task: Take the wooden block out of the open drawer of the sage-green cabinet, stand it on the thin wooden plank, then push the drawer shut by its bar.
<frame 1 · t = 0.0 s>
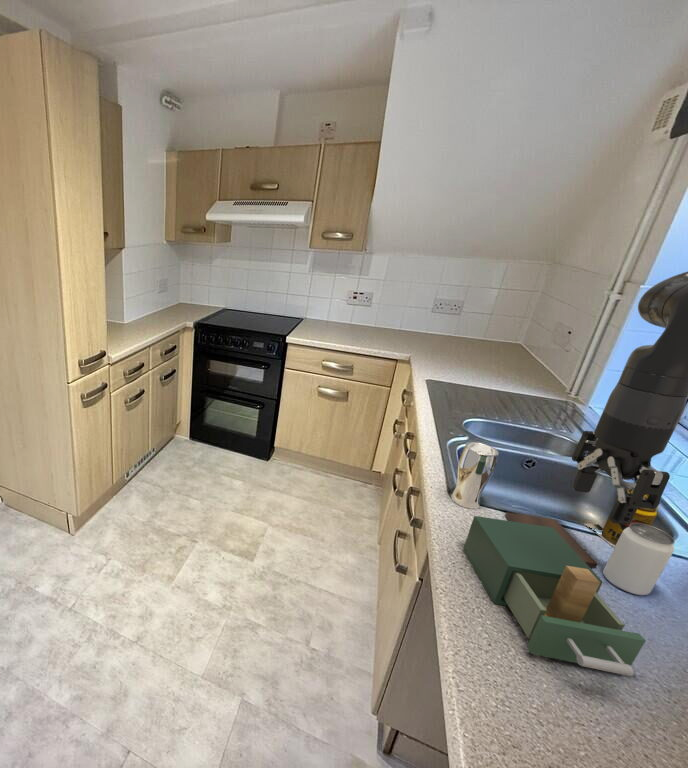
hand: (597, 505, 67), 21 cm above the counter, tool pointing down, fingers open, 8 cm apart
wooden block: (557, 626, 68), point 2 cm above the counter, touching drawer
drawer: (568, 623, 66), point 4 cm above the counter, slide at 9.0 cm, touching wooden block
can: (624, 583, 80), on the counter
thin wooden plank: (546, 540, 90), on the counter
condiment: (616, 538, 92), on the counter
beer glass: (464, 501, 103), on the counter
cabinet: (517, 581, 79), on the counter
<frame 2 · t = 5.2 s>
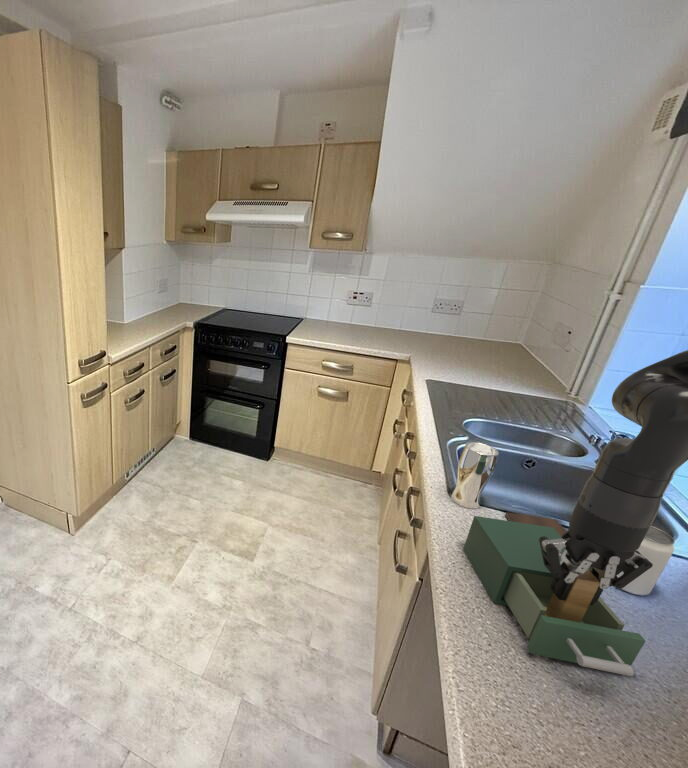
hand: (571, 597, 66), 8 cm above the counter, tool pointing down, fingers closed on wooden block, 3 cm apart
wooden block: (557, 626, 68), point 2 cm above the counter, touching drawer, gripper
everything else where it was.
when the fingers open (7 cm above the counter, at t = 10.6 s): wooden block stays where it is, resting on thin wooden plank.
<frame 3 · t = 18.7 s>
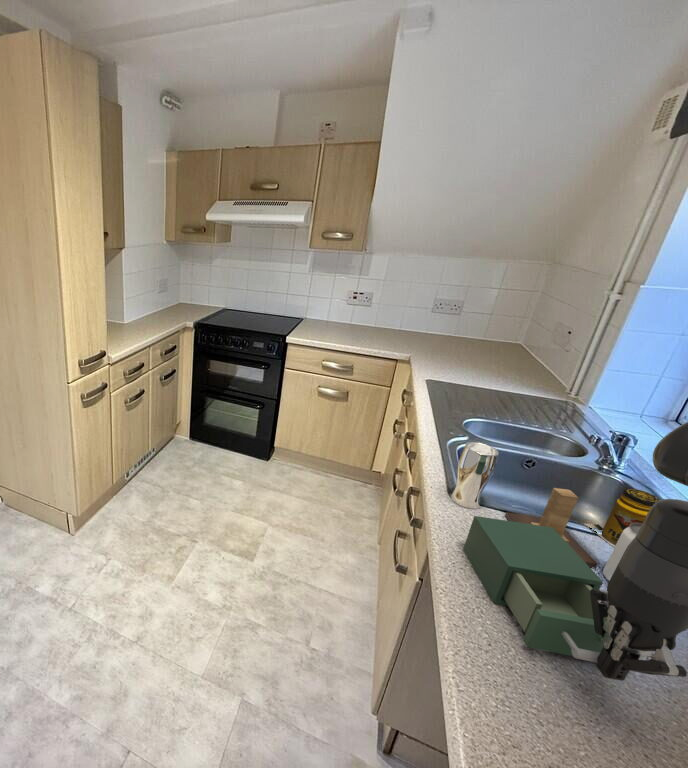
hand: (607, 673, 58), 5 cm above the counter, tool pointing down, fingers closed
wooden block: (547, 535, 90), point 1 cm above the counter, touching thin wooden plank
drawer: (563, 617, 67), point 4 cm above the counter, slide at 7.8 cm
everything else where it was.
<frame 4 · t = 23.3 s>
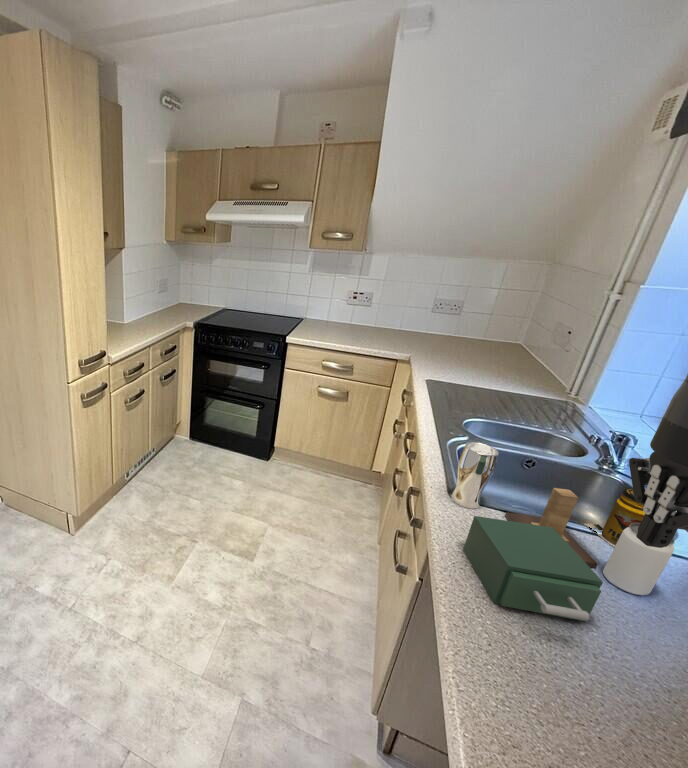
hand: (649, 542, 54), 25 cm above the counter, tool pointing down, fingers closed
drawer: (536, 579, 74), point 4 cm above the counter, slide at 0.0 cm, touching cabinet
everything else where it was.
at the end: wooden block inside the target area on the thin wooden plank (0.2 cm from its centre), point 1.2 cm above the thin wooden plank's base; wooden block tilted 0°; drawer slide at 0.0 cm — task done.
